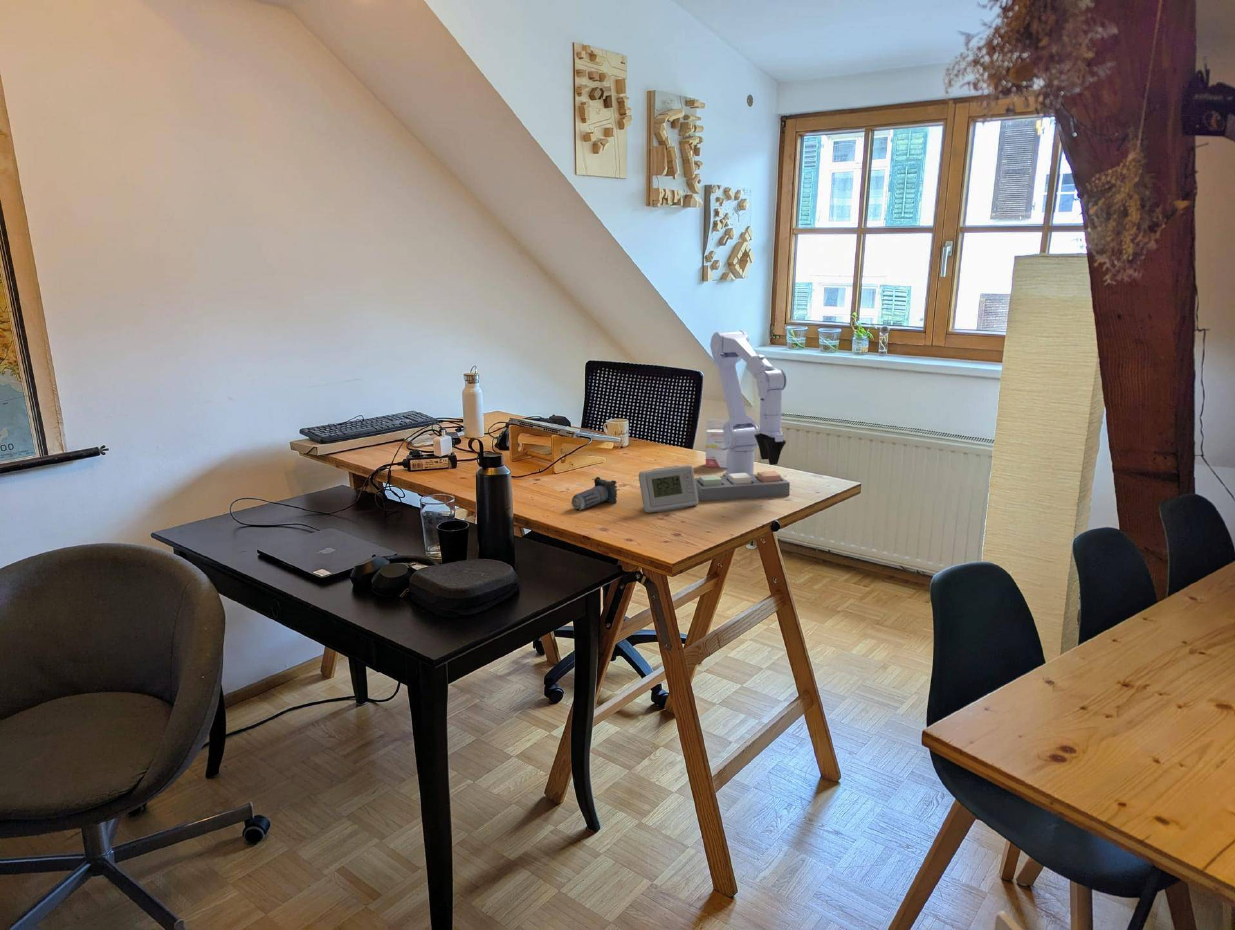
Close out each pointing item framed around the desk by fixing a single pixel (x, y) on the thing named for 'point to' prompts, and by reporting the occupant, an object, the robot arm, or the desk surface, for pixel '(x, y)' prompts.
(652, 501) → the digital clock
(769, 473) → the terracotta key
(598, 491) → the ribbed flanged cylinder
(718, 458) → the ink cartridge box
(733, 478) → the cream key
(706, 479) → the sage key
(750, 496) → the panel
